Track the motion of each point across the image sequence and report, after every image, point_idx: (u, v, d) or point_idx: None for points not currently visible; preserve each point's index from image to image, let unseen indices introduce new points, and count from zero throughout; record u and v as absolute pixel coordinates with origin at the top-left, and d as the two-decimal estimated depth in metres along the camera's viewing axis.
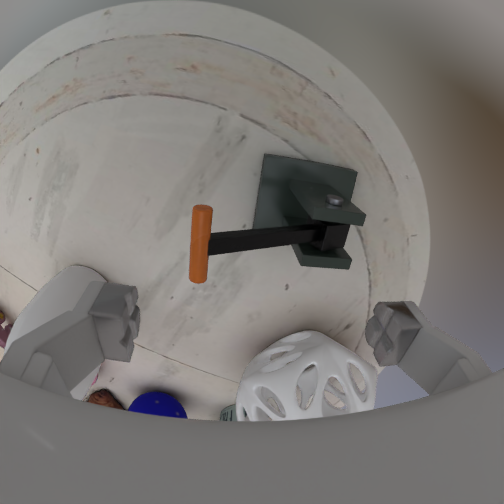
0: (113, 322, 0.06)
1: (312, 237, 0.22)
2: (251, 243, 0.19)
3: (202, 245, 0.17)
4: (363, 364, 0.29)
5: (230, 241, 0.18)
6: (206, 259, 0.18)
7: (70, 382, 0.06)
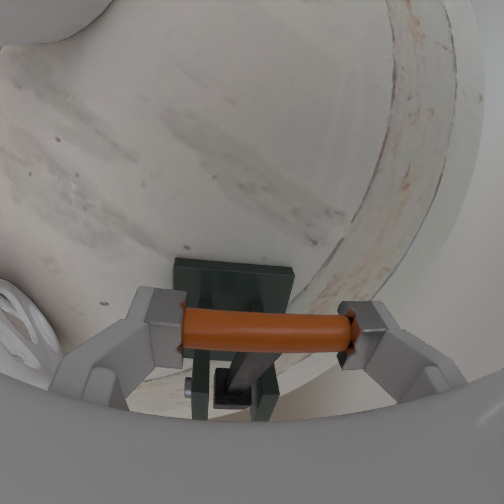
0: (172, 329, 0.07)
1: (232, 393, 0.15)
2: (249, 373, 0.11)
3: (279, 350, 0.08)
4: None
5: (265, 364, 0.09)
6: None
7: None
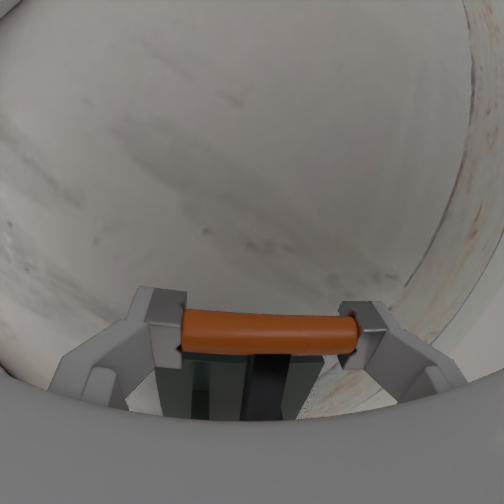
0: (171, 329, 0.07)
1: None
2: None
3: (286, 342, 0.07)
4: None
5: (275, 395, 0.08)
6: (246, 352, 0.07)
7: None
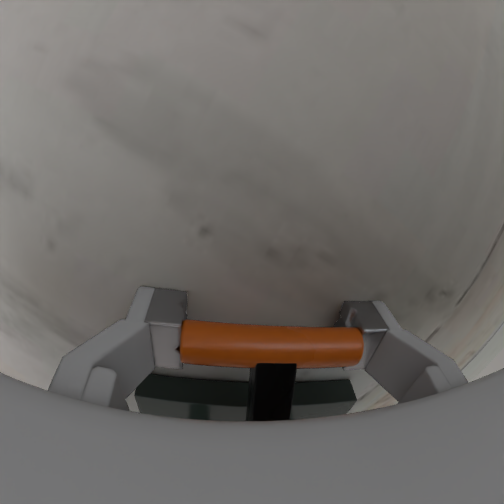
0: (172, 329, 0.07)
1: None
2: None
3: (290, 349, 0.07)
4: None
5: (282, 413, 0.07)
6: (248, 361, 0.07)
7: (122, 394, 0.06)
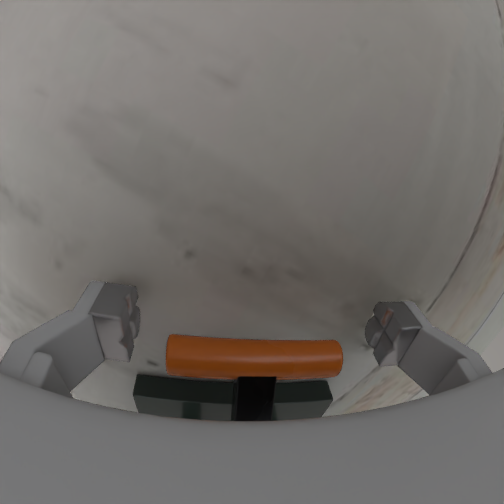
0: (113, 322, 0.06)
1: None
2: None
3: (270, 364, 0.07)
4: None
5: None
6: (230, 374, 0.07)
7: (70, 382, 0.06)
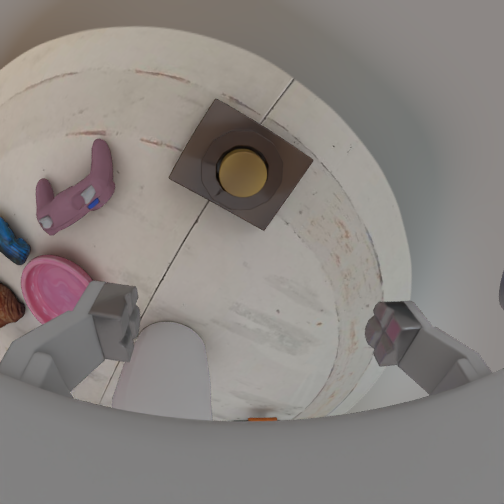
0: (113, 322, 0.06)
1: None
2: None
3: None
4: None
5: None
6: None
7: (70, 382, 0.06)
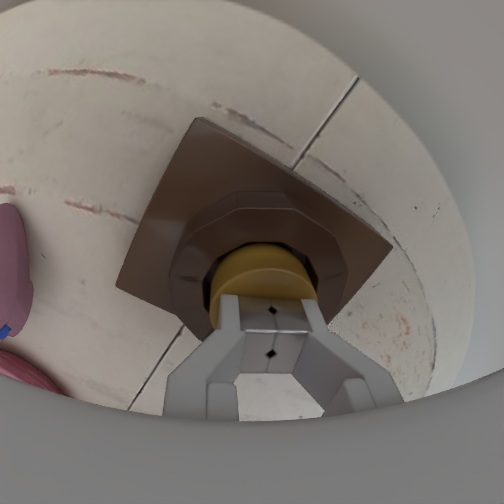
0: (268, 335, 0.07)
1: None
2: None
3: None
4: None
5: None
6: None
7: None
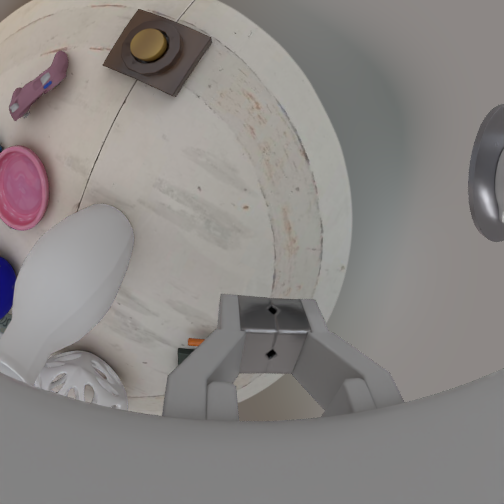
0: (267, 336, 0.07)
1: None
2: None
3: None
4: None
5: None
6: None
7: None
